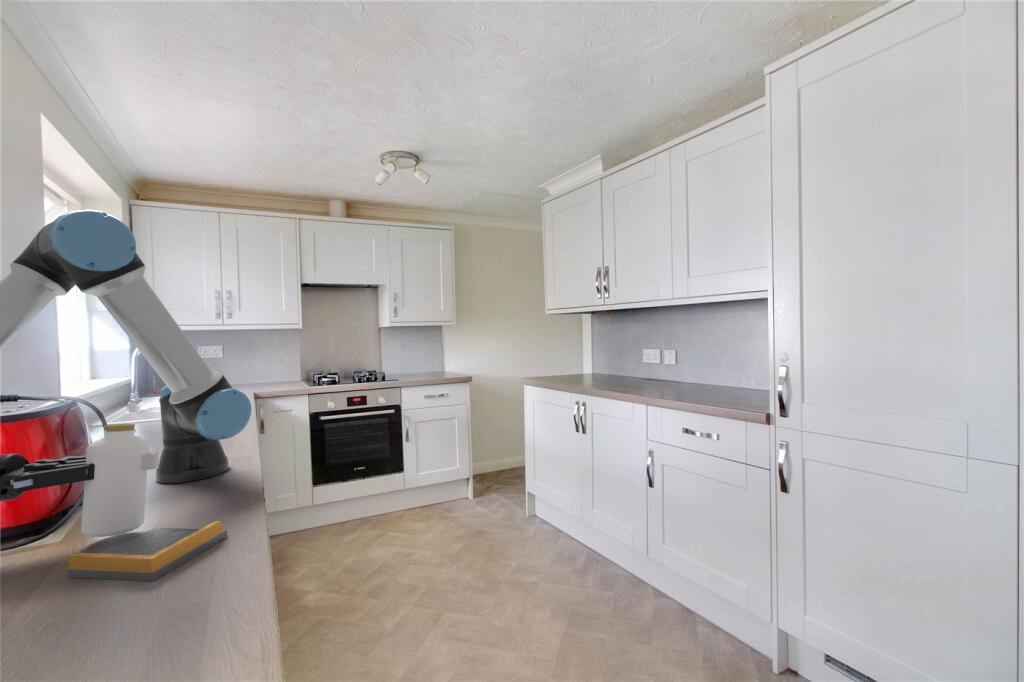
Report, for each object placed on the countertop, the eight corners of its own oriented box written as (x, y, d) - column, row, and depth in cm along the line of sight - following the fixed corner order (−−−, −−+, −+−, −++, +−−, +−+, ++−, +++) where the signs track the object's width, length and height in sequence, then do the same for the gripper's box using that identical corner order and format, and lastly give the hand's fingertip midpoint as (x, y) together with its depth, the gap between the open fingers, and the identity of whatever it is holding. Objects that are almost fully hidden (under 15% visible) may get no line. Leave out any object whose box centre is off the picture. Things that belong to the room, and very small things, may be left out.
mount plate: (155, 534, 82) (154, 516, 82) (227, 536, 80) (226, 518, 80) (69, 577, 68) (67, 555, 68) (153, 581, 66) (151, 559, 66)
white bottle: (154, 527, 83) (160, 424, 84) (96, 542, 75) (104, 429, 76) (127, 520, 86) (134, 421, 87) (70, 534, 79) (78, 426, 80)
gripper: (18, 489, 83) (173, 470, 89) (-46, 518, 70) (140, 493, 77) (13, 446, 82) (170, 431, 89) (-51, 468, 70) (136, 448, 76)
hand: (156, 460), depth 83 cm, fingers closed
